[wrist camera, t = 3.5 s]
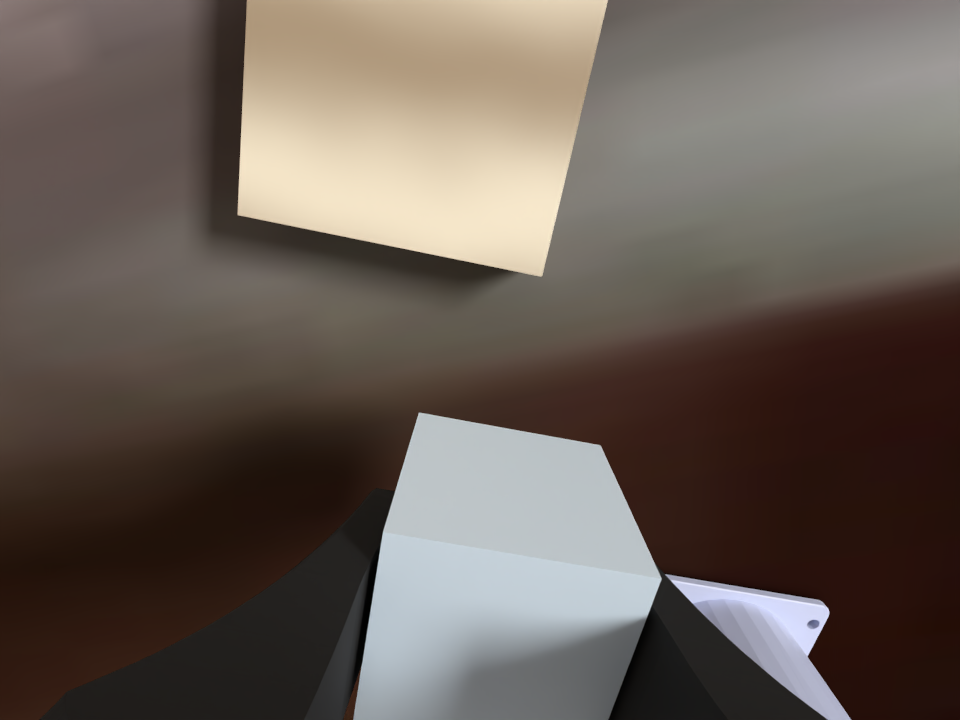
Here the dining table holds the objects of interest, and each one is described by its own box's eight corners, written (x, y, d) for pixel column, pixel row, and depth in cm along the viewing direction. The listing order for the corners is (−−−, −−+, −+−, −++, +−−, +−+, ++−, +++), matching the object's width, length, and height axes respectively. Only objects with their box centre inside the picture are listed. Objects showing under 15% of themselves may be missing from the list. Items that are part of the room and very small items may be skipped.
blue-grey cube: (556, 590, 14) (589, 769, 9) (393, 563, 13) (350, 735, 9) (600, 445, 12) (661, 579, 8) (419, 412, 12) (382, 531, 8)
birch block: (532, 263, 18) (541, 276, 15) (278, 211, 17) (237, 215, 14) (601, -36, 15) (629, -90, 12) (300, -108, 15) (255, -181, 12)
